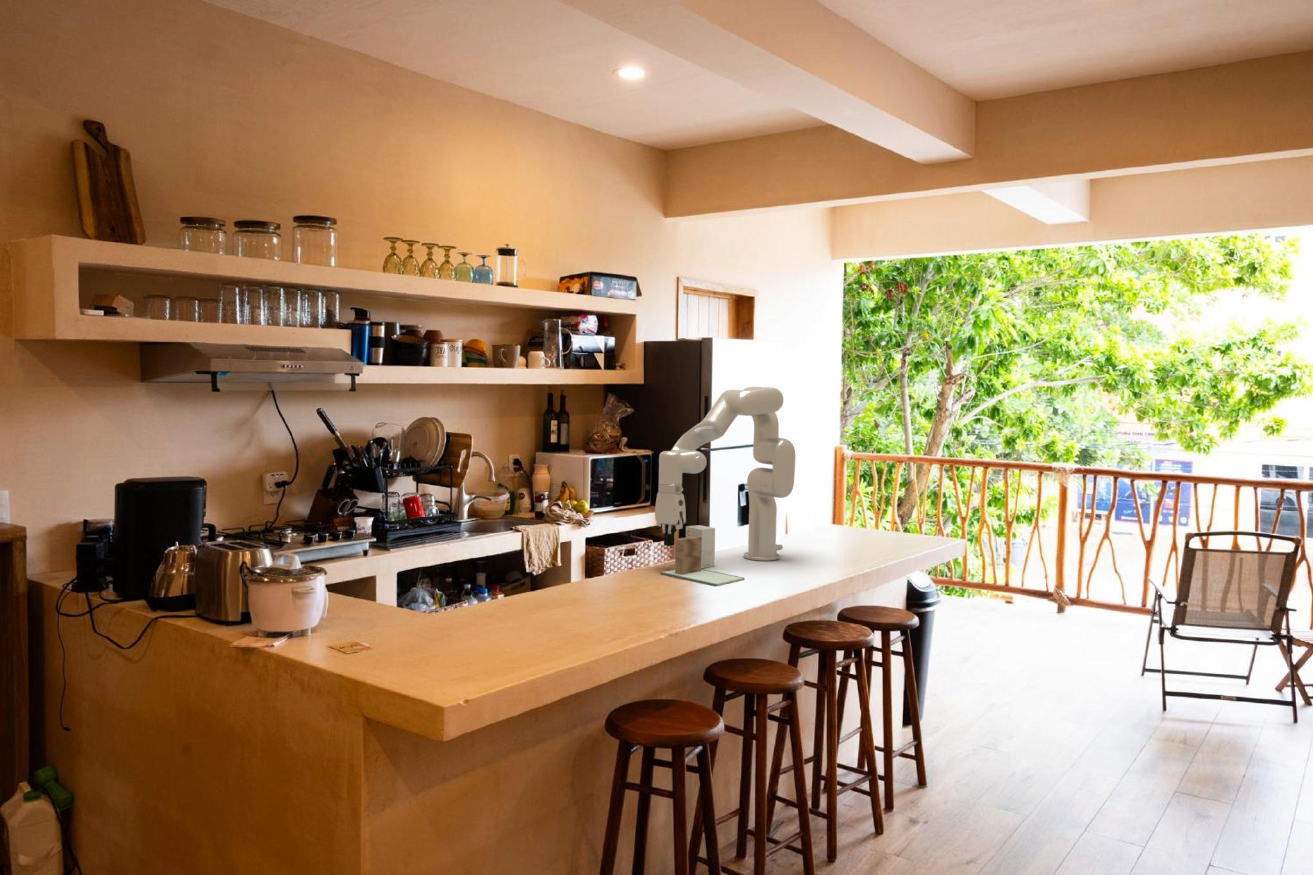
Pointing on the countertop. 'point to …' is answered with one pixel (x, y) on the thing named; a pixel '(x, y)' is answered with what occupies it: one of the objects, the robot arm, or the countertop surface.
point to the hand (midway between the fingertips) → (669, 545)
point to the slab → (688, 555)
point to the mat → (705, 577)
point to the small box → (704, 543)
